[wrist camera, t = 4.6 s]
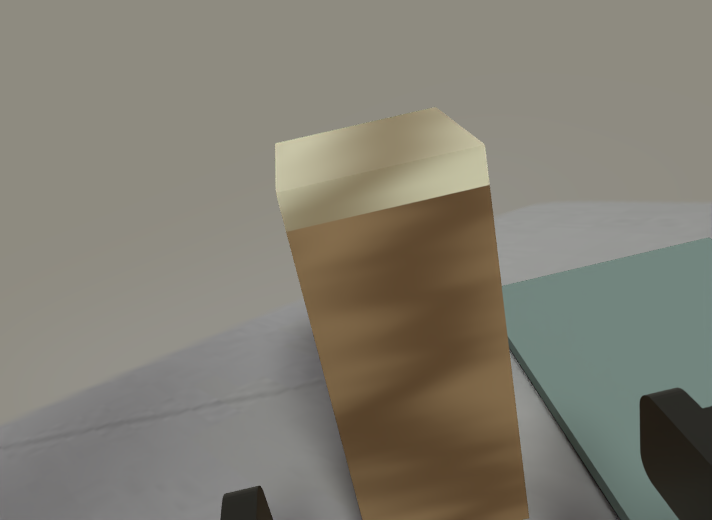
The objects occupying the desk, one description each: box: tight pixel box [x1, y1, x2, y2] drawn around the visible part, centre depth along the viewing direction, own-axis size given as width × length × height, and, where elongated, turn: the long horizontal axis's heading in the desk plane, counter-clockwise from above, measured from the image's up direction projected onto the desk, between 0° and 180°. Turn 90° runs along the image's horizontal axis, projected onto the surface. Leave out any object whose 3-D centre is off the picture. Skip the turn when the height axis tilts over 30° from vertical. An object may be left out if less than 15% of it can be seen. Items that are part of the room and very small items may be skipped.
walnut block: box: [275, 107, 529, 520], centre depth 20 cm, size 5×5×12 cm
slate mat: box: [502, 238, 712, 520], centre depth 24 cm, size 12×18×1 cm, turn 7°
